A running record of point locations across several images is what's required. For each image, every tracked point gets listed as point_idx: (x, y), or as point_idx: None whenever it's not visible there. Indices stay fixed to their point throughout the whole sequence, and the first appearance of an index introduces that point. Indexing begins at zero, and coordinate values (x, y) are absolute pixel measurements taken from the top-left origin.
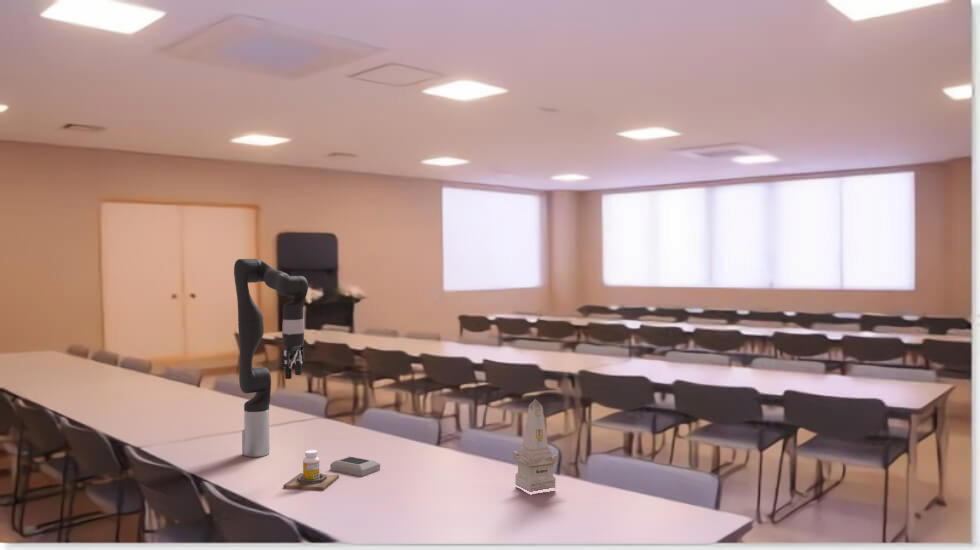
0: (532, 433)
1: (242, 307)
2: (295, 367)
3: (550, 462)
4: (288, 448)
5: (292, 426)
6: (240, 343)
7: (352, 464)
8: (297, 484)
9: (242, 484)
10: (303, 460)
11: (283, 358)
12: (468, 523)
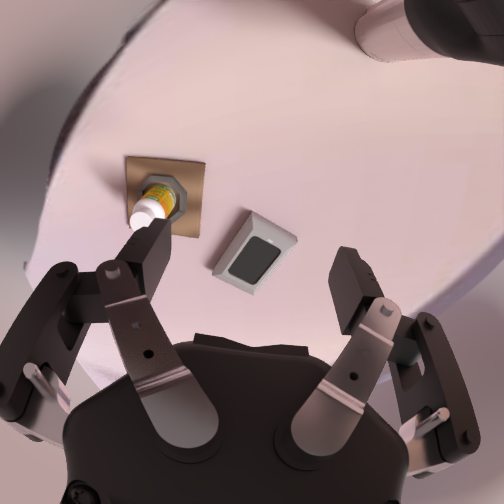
0: None
1: None
2: (355, 283)
3: None
4: (423, 101)
5: None
6: None
7: (229, 261)
8: (134, 181)
9: (142, 71)
10: (138, 202)
11: (21, 335)
12: (95, 353)
